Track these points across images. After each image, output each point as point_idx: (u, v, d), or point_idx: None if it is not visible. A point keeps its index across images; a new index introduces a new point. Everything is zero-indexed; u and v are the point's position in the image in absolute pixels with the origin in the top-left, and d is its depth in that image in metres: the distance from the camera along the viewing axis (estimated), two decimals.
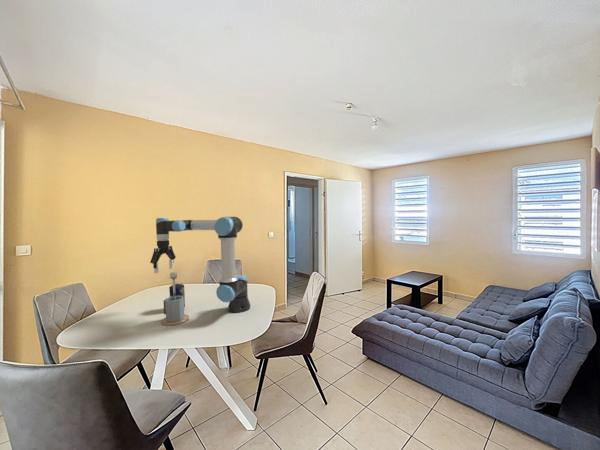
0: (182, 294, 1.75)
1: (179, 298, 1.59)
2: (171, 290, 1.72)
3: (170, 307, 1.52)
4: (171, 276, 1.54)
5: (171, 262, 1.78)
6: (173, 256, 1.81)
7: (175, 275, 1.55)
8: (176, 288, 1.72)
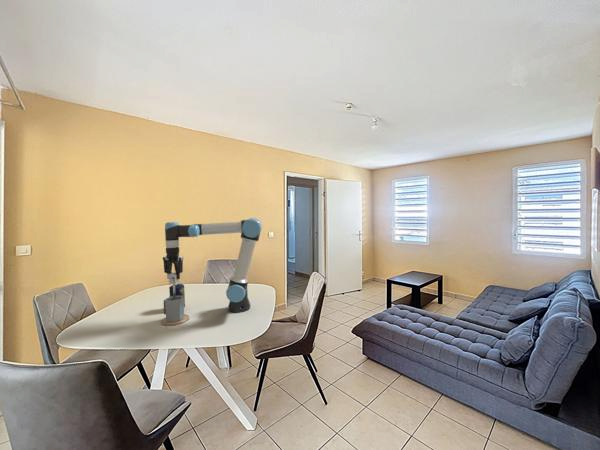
0: (182, 294, 1.75)
1: (179, 298, 1.59)
2: (171, 290, 1.72)
3: (170, 307, 1.52)
4: (171, 276, 1.54)
5: None
6: None
7: None
8: (176, 288, 1.72)
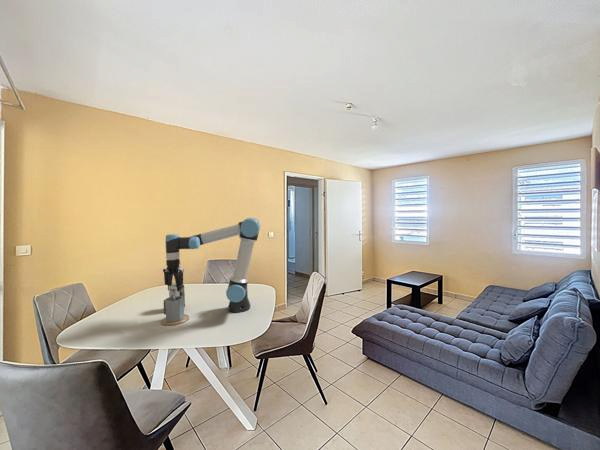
0: (182, 294, 1.75)
1: None
2: None
3: (170, 307, 1.52)
4: (171, 288, 1.55)
5: None
6: None
7: None
8: None
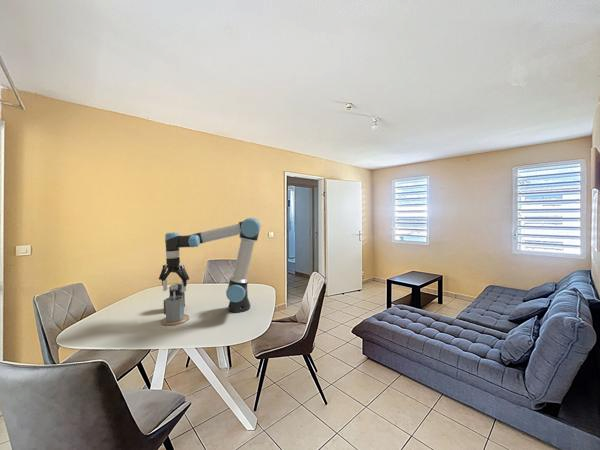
0: (182, 294, 1.75)
1: None
2: None
3: (170, 307, 1.52)
4: (171, 288, 1.55)
5: None
6: None
7: (175, 287, 1.55)
8: None
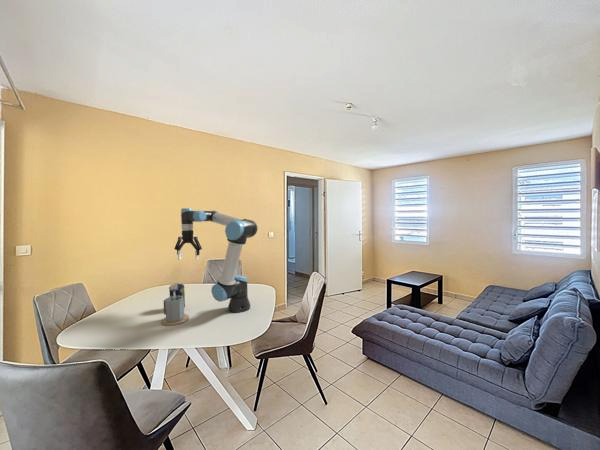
0: (182, 294, 1.75)
1: None
2: None
3: (170, 307, 1.52)
4: (171, 288, 1.55)
5: None
6: None
7: (175, 287, 1.55)
8: None
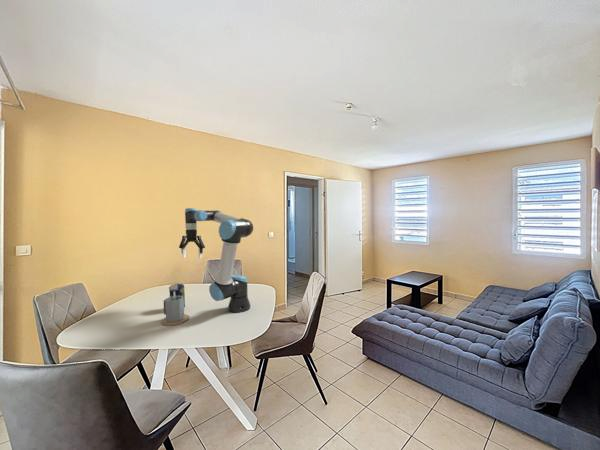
0: (182, 294, 1.75)
1: None
2: None
3: (170, 307, 1.52)
4: (171, 288, 1.55)
5: None
6: (203, 246, 1.82)
7: (175, 287, 1.55)
8: None
